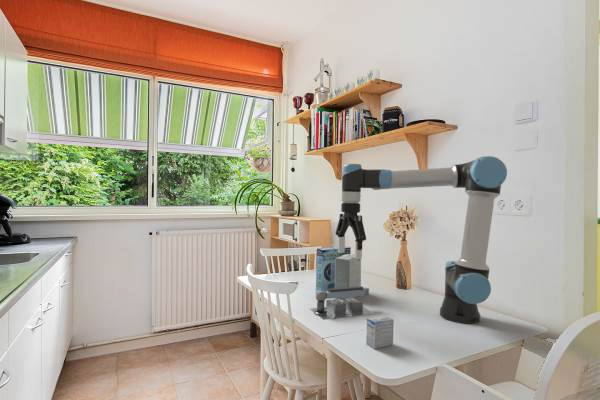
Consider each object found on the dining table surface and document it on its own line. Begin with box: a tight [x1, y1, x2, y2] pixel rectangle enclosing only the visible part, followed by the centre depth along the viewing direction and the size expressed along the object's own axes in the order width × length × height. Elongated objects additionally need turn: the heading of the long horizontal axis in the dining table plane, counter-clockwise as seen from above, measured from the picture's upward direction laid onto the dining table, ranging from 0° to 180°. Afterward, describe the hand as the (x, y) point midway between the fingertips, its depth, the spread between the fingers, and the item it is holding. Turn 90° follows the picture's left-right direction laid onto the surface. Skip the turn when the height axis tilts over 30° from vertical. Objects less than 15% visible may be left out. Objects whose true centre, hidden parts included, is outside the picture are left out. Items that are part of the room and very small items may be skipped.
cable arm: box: [315, 285, 370, 301], centre depth 148 cm, size 25×4×4 cm, turn 112°
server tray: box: [309, 300, 377, 320], centre depth 148 cm, size 14×25×6 cm, turn 112°
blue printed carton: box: [315, 245, 352, 292], centre depth 179 cm, size 20×5×23 cm, turn 126°
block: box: [342, 297, 364, 314], centre depth 149 cm, size 8×5×4 cm, turn 22°
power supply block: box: [325, 298, 346, 315], centre depth 147 cm, size 8×5×4 cm, turn 22°
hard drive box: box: [335, 253, 362, 301], centre depth 171 cm, size 16×8×20 cm, turn 149°
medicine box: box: [365, 315, 395, 350], centre depth 115 cm, size 8×4×9 cm, turn 118°
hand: (349, 255), depth 141 cm, fingers open, 13 cm apart
